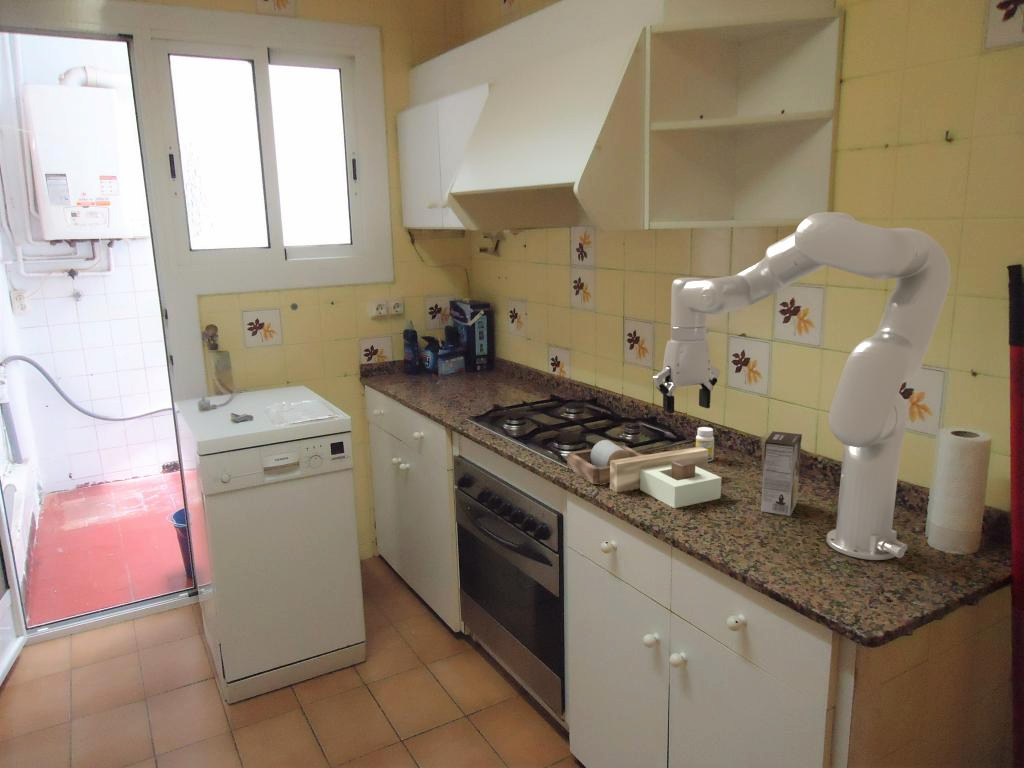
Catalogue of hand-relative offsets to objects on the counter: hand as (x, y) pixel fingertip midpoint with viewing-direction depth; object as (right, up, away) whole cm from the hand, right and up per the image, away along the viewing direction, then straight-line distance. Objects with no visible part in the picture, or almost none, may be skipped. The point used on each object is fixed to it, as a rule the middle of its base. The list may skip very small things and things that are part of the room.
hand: (686, 409), depth 160 cm
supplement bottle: (+12, -15, +30) cm, 35 cm away
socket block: (0, -20, +5) cm, 20 cm away
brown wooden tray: (-15, -17, +21) cm, 30 cm away
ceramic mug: (-13, -17, +21) cm, 30 cm away
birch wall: (-4, -18, +13) cm, 23 cm away
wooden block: (0, -20, +5) cm, 21 cm away
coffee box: (+20, -22, -3) cm, 29 cm away
